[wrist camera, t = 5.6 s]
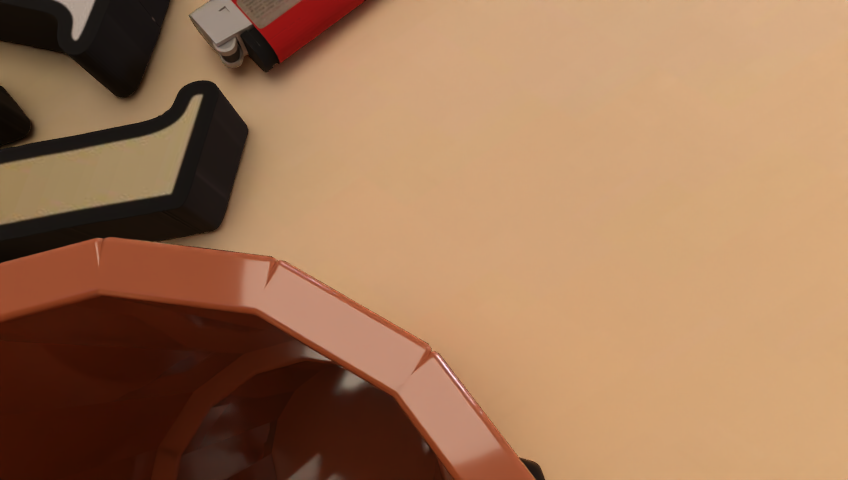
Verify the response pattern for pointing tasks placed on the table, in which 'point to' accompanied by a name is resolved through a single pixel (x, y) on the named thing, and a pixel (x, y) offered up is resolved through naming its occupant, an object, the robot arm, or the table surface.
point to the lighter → (265, 27)
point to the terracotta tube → (220, 375)
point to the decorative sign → (112, 139)
